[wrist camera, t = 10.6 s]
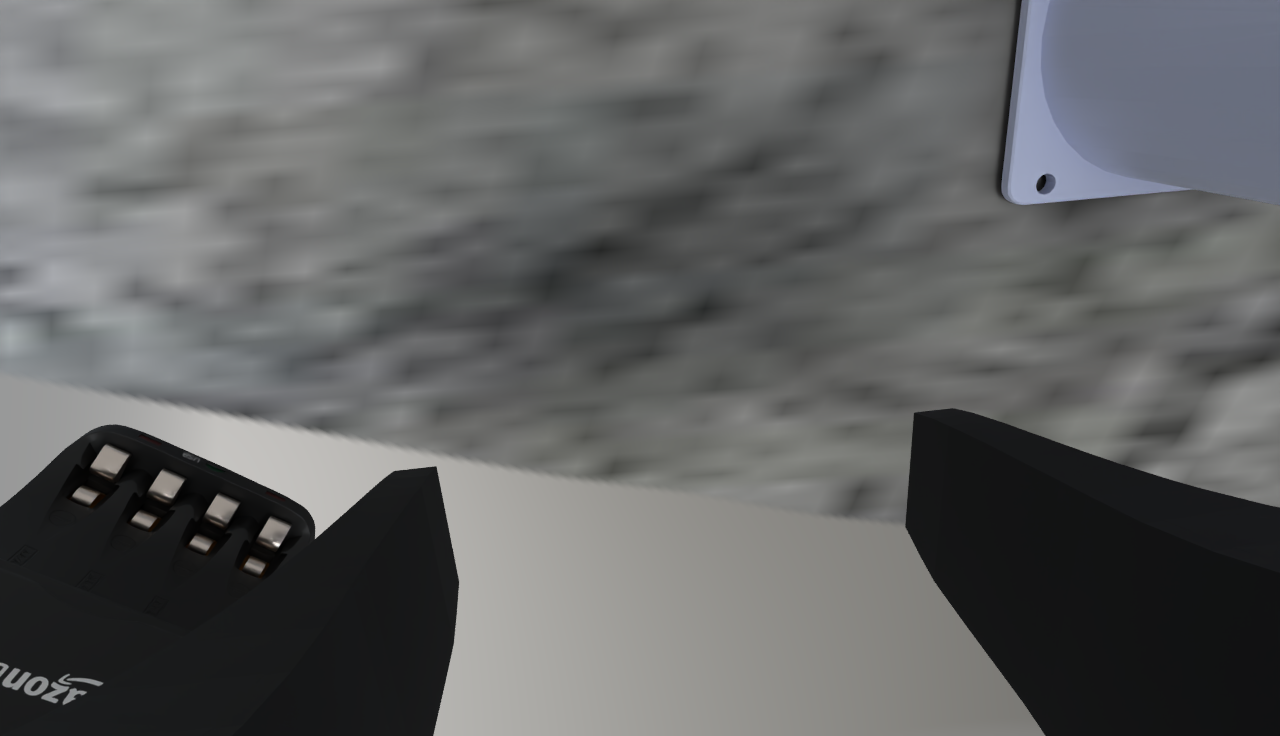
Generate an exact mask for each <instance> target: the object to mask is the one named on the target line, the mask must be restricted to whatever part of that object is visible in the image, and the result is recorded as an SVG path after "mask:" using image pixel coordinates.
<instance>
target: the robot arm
mask: <svg viewBox="0 0 1280 736" xmlns="http://www.w3.org/2000/svg"><path fill="white" fill-rule="evenodd" d="M1044 174H1045V176H1046V184H1045V186H1044V187H1043V188H1042V189H1041V190H1040V191H1037V189H1036V184H1037V181H1038V179H1039V178H1040V177H1041V176H1042V175H1044ZM1001 188H1002V194H1003V196H1004V198H1005V199H1006V200H1008V201H1009V202H1011V203H1015V204H1020V205H1029V204H1040V203H1051V202H1062V201H1072V200H1083V199H1094V198H1105V197H1116V196H1127V195H1138V194H1149V193H1159V192H1170V191H1181V190H1192V189H1194V190H1199V191H1205V192H1210V193H1215V194H1221V195H1226V196H1232V197H1237V198H1243V199H1248V200H1254V201H1259V202H1264V203H1270V204H1275V205H1280V0H1022V4H1021V13H1020V22H1019V31H1018V40H1017V49H1016V58H1015V67H1014V76H1013V85H1012V94H1011V103H1010V112H1009V121H1008V130H1007V139H1006V148H1005V157H1004V166H1003V175H1002V184H1001ZM905 527H906V529H907V530H908V533H909V534H910V537H911V539H912V540H913V543H914V544H915V546H916V548H917V551H918V552H919V554H920V556H921V558H922V560H923V562H924V563H925V565H926V567H927V569H928V571H929V572H930V574H931V576H932V578H933V580H934V581H935V583H936V584H937V586H938V587H939V589H940V590H941V591H942V593H943V594H944V596H945V597H946V598H947V600H948V601H949V603H950V604H951V605H952V607H953V608H954V609H955V611H956V612H957V614H958V615H959V616H960V618H961V619H962V620H963V622H964V623H965V625H966V626H967V627H968V629H969V630H970V631H971V633H972V634H973V635H974V637H975V638H976V639H977V641H978V642H979V643H980V645H981V646H982V648H983V649H984V650H985V652H986V653H987V654H988V656H989V657H990V658H991V660H992V661H993V662H994V664H995V665H996V666H997V668H998V669H999V670H1000V672H1001V673H1002V675H1003V676H1004V677H1005V679H1006V680H1007V681H1008V683H1009V684H1010V685H1011V687H1012V688H1013V689H1014V691H1015V692H1016V693H1017V695H1018V696H1019V698H1020V699H1021V700H1022V701H1023V703H1024V704H1025V706H1026V707H1027V709H1028V710H1029V712H1030V713H1031V715H1032V716H1033V718H1034V719H1035V721H1036V722H1037V723H1038V725H1039V727H1040V728H1041V730H1042V731H1043V733H1044V734H1045V735H1046V736H1280V508H1279V507H1274V506H1269V505H1265V504H1261V503H1257V502H1253V501H1249V500H1245V499H1241V498H1237V497H1233V496H1229V495H1225V494H1221V493H1217V492H1213V491H1209V490H1205V489H1201V488H1197V487H1194V486H1190V485H1187V484H1183V483H1180V482H1176V481H1173V480H1169V479H1166V478H1163V477H1160V476H1157V475H1153V474H1150V473H1147V472H1144V471H1141V470H1137V469H1134V468H1131V467H1128V466H1125V465H1121V464H1118V463H1116V462H1113V461H1110V460H1107V459H1104V458H1101V457H1098V456H1095V455H1092V454H1089V453H1086V452H1083V451H1080V450H1078V449H1075V448H1072V447H1069V446H1066V445H1064V444H1061V443H1058V442H1055V441H1052V440H1050V439H1047V438H1044V437H1041V436H1039V435H1036V434H1033V433H1030V432H1027V431H1025V430H1022V429H1019V428H1016V427H1014V426H1011V425H1008V424H1005V423H1002V422H999V421H996V420H993V419H990V418H987V417H984V416H981V415H978V414H974V413H971V412H967V411H963V410H958V409H953V408H952V409H943V410H934V411H925V412H916V413H914V421H913V434H912V447H911V460H910V473H909V486H908V499H907V512H906V526H905ZM458 588H459V579H458V574H457V569H456V564H455V559H454V554H453V549H452V544H451V538H450V533H449V528H448V523H447V518H446V513H445V508H444V503H443V498H442V493H441V487H440V483H439V477H438V473H437V467H426V468H418V469H409V470H400V471H394V472H392V473H391V474H390V475H388V476H387V477H386V478H384V479H383V480H382V481H381V482H379V483H378V484H377V485H376V486H375V487H374V488H373V489H372V490H370V491H369V492H368V493H367V494H366V495H365V496H364V497H362V499H360V500H359V501H358V502H357V503H356V504H355V505H354V506H352V507H351V508H350V509H349V510H348V511H347V512H346V513H345V514H343V515H342V516H341V517H340V518H339V519H338V520H337V521H335V522H334V523H333V524H332V525H331V526H330V527H329V528H328V529H326V530H325V531H324V532H323V533H322V534H321V535H319V536H318V537H317V538H316V539H315V540H314V541H313V542H311V543H310V544H309V545H308V546H307V547H305V548H304V549H303V550H301V551H300V552H299V553H298V554H296V555H295V556H294V557H293V558H291V559H290V560H289V561H288V562H286V563H285V564H284V565H283V566H281V567H280V568H279V569H278V570H276V571H275V572H274V573H273V574H271V575H270V576H269V577H268V578H266V579H265V580H264V581H263V582H261V583H260V584H259V585H258V586H256V587H255V588H254V589H252V590H251V591H250V592H248V593H247V594H246V595H244V596H243V597H241V598H240V599H239V600H237V601H236V602H234V603H233V604H232V605H230V606H229V607H227V608H226V609H224V610H223V611H222V612H220V613H219V614H217V615H216V616H214V617H213V618H211V619H209V620H208V621H206V622H205V623H203V624H202V625H200V626H199V627H197V628H196V629H194V630H193V631H191V632H190V633H188V634H187V635H185V636H184V637H182V638H181V639H179V640H177V641H176V642H174V643H173V644H171V645H169V646H168V647H166V648H164V649H162V650H161V651H159V652H157V653H155V654H154V655H152V656H150V657H148V658H147V659H145V660H143V661H142V662H140V663H138V664H136V665H135V666H133V667H131V668H129V669H128V670H126V671H124V672H122V673H121V674H119V675H117V676H115V677H114V678H112V679H110V680H109V681H107V682H105V683H103V684H102V685H100V686H98V687H96V688H95V689H93V690H91V691H89V692H87V693H85V694H84V695H82V696H80V697H78V698H76V699H74V700H72V701H70V702H68V703H66V704H64V705H62V706H60V707H58V708H57V709H55V710H53V711H51V712H49V713H47V714H45V715H43V716H41V717H39V718H37V719H35V720H33V721H31V722H29V723H27V724H25V725H23V726H21V727H18V728H16V729H14V730H12V731H10V732H8V733H6V734H4V735H2V736H433V734H434V730H435V725H436V721H437V716H438V711H439V708H440V703H441V699H442V695H443V690H444V686H445V681H446V676H447V672H448V667H449V663H450V658H451V654H452V649H453V644H454V635H455V625H456V615H457V602H458Z"/></svg>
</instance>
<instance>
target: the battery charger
mask: <svg viewBox="0 0 1280 736" xmlns="http://www.w3.org/2000/svg"><path fill="white" fill-rule="evenodd" d="M314 540H315V524H314V520H313V518H312V517H311V515H310V513H309V512H308V511H307V510H306V509H305V508H304V507H303V506H301V505H300V504H298V503H296V502H295V501H293V500H291V499H290V498H288V497H286V496H284V495H282V494H280V493H278V492H276V491H274V490H271V489H269V488H267V487H265V486H263V485H260V484H258V483H256V482H254V481H252V480H250V479H248V478H246V477H243V476H241V475H239V474H237V473H235V472H233V471H231V470H228V469H226V468H224V467H222V466H220V465H217V464H215V463H213V462H211V461H208V460H206V459H204V458H201V457H199V456H197V455H195V454H192V453H190V452H188V451H186V450H183V449H181V448H179V447H176V446H174V445H172V444H170V443H167V442H165V441H163V440H161V439H158V438H156V437H154V436H151V435H149V434H146V433H144V432H141V431H138V430H135V429H132V428H129V427H126V426H121V425H105V426H101V427H98V428H96V429H93V430H91V431H89V432H88V433H86V434H85V435H84V436H82V437H81V438H79V439H78V440H77V441H75V442H74V443H73V444H71V445H70V446H69V447H67V448H66V449H65V450H64V451H62V452H61V453H60V454H59V455H58V456H57V457H56V458H55V459H54V460H53V461H52V462H51V463H50V464H49V465H48V466H47V467H46V468H45V469H44V470H43V471H42V472H40V473H39V474H38V475H37V476H36V477H35V478H34V479H33V480H31V481H30V482H29V483H28V484H27V485H26V486H25V487H24V488H22V489H21V490H20V491H19V492H18V493H17V494H16V495H14V496H13V497H12V498H11V499H10V500H8V501H7V502H6V503H5V504H3V505H2V506H1V507H0V736H2V735H4V734H6V733H8V732H10V731H12V730H14V729H16V728H18V727H21V726H23V725H25V724H27V723H29V722H31V721H33V720H35V719H37V718H39V717H41V716H43V715H45V714H47V713H49V712H51V711H53V710H55V709H57V708H58V707H60V706H62V705H64V704H66V703H68V702H70V701H72V700H74V699H76V698H78V697H80V696H82V695H84V694H85V693H87V692H89V691H91V690H93V689H95V688H96V687H98V686H100V685H102V684H103V683H105V682H107V681H109V680H110V679H112V678H114V677H115V676H117V675H119V674H121V673H122V672H124V671H126V670H128V669H129V668H131V667H133V666H135V665H136V664H138V663H140V662H142V661H143V660H145V659H147V658H148V657H150V656H152V655H154V654H155V653H157V652H159V651H161V650H162V649H164V648H166V647H168V646H169V645H171V644H173V643H174V642H176V641H177V640H179V639H181V638H182V637H184V636H185V635H187V634H188V633H190V632H191V631H193V630H194V629H196V628H197V627H199V626H200V625H202V624H203V623H205V622H206V621H208V620H209V619H211V618H213V617H214V616H216V615H217V614H219V613H220V612H222V611H223V610H224V609H226V608H227V607H229V606H230V605H232V604H233V603H234V602H236V601H237V600H239V599H240V598H241V597H243V596H244V595H246V594H247V593H248V592H250V591H251V590H252V589H254V588H255V587H256V586H258V585H259V584H260V583H261V582H263V581H264V580H265V579H266V578H268V577H269V576H270V575H271V574H273V573H274V572H275V571H276V570H278V569H279V568H280V567H281V566H283V565H284V564H285V563H286V562H288V561H289V560H290V559H291V558H293V557H294V556H295V555H296V554H298V553H299V552H300V551H301V550H303V549H304V548H305V547H307V546H308V545H309V544H310V543H311V542H313V541H314Z"/></svg>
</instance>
